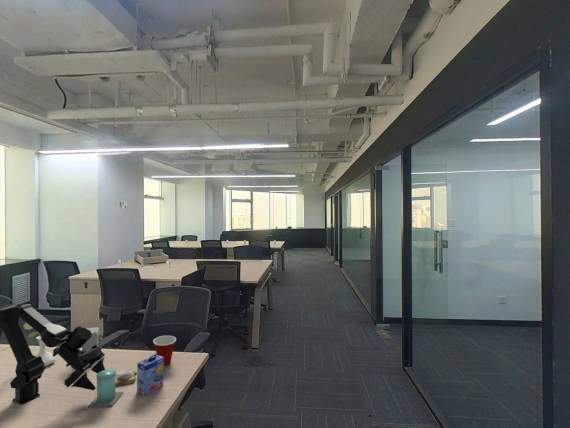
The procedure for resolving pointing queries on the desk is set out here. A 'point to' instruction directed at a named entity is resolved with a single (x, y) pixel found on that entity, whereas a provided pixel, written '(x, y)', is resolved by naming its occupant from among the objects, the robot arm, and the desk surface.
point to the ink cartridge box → (150, 374)
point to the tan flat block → (125, 377)
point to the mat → (107, 404)
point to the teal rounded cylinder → (106, 385)
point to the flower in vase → (41, 348)
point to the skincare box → (91, 339)
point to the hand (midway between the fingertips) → (101, 382)
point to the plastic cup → (165, 347)
